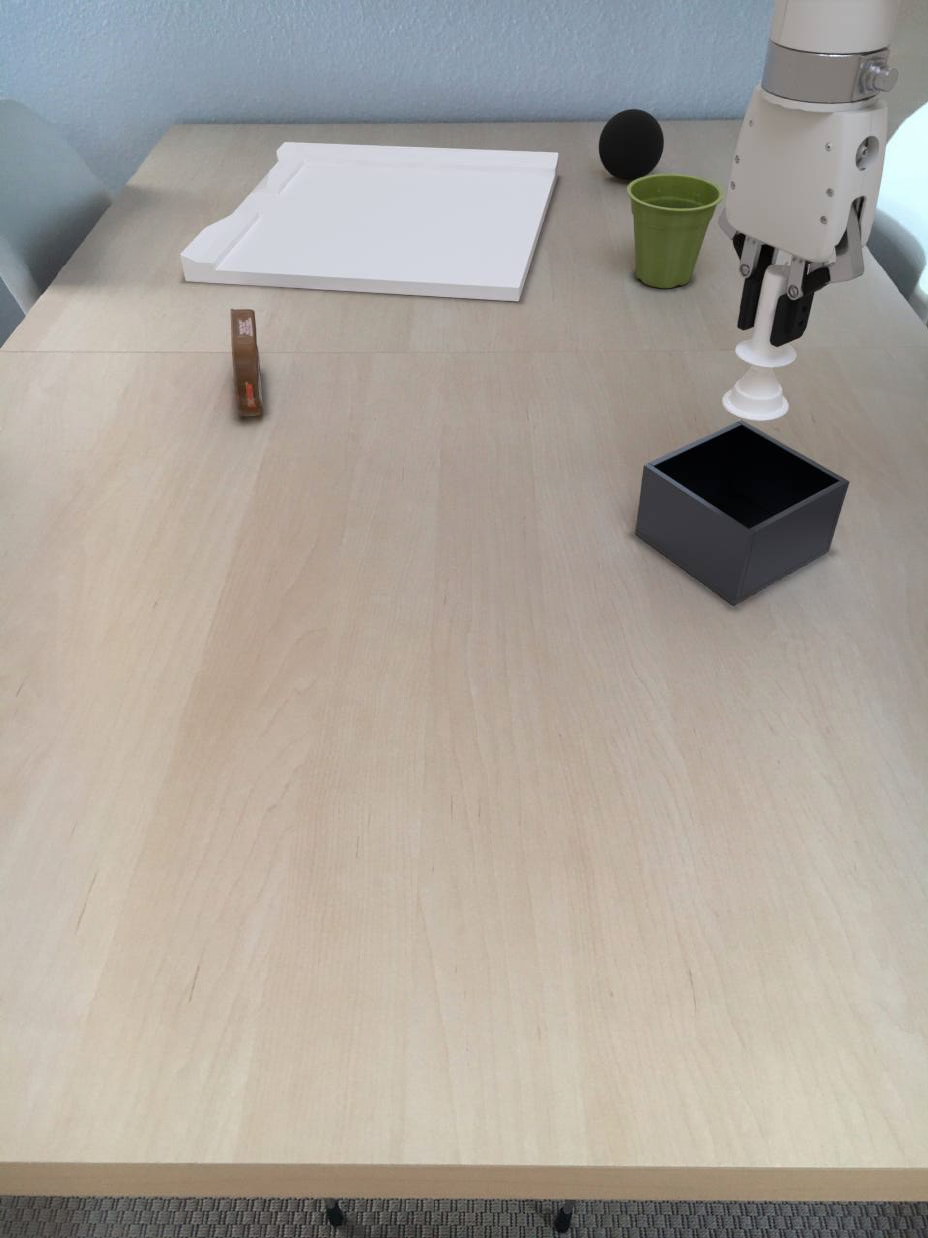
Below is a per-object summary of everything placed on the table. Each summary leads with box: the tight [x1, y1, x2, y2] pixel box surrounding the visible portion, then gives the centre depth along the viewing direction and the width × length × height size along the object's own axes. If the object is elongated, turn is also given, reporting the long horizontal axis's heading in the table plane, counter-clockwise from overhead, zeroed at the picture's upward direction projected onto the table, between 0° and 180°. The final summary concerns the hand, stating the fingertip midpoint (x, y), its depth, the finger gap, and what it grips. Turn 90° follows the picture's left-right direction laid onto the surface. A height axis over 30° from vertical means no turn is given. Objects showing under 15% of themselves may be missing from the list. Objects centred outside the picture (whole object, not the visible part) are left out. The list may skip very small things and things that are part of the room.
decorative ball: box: [598, 108, 665, 181], centre depth 154 cm, size 10×10×10 cm
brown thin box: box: [230, 308, 264, 418], centre depth 107 cm, size 15×3×8 cm, turn 10°
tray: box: [179, 141, 559, 302], centre depth 144 cm, size 45×45×4 cm
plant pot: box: [626, 173, 724, 289], centre depth 126 cm, size 12×12×11 cm
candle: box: [721, 261, 797, 422], centre depth 77 cm, size 5×5×12 cm
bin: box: [634, 419, 850, 606], centre depth 87 cm, size 12×12×8 cm
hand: (769, 330), depth 77 cm, fingers closed on candle, 2 cm apart
